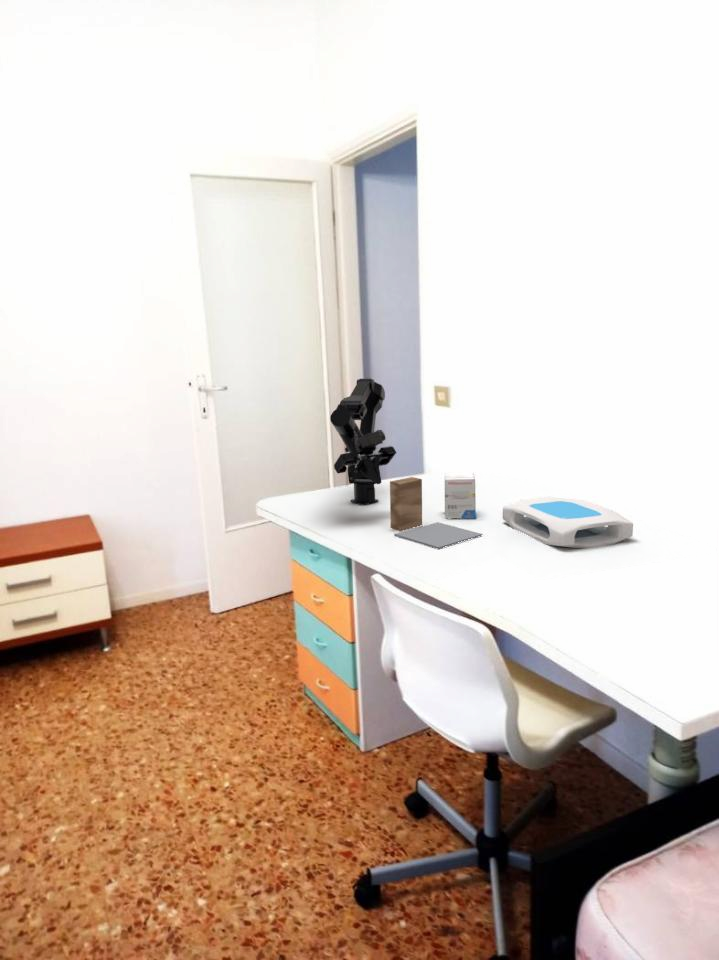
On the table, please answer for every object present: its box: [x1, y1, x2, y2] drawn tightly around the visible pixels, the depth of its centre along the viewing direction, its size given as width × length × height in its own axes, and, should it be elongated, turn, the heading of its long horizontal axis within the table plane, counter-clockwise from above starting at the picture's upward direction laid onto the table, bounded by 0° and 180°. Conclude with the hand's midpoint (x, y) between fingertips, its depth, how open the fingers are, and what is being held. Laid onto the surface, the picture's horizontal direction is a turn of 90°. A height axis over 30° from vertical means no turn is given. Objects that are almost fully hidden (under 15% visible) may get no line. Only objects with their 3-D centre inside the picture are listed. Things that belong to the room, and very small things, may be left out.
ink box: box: [444, 472, 477, 520], centre depth 197 cm, size 9×8×12 cm
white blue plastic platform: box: [502, 496, 634, 549], centre depth 180 cm, size 21×28×6 cm
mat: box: [394, 521, 484, 550], centre depth 179 cm, size 16×16×1 cm
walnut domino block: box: [389, 476, 423, 532], centre depth 187 cm, size 4×8×13 cm, turn 129°
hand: (379, 483), depth 190 cm, fingers closed
